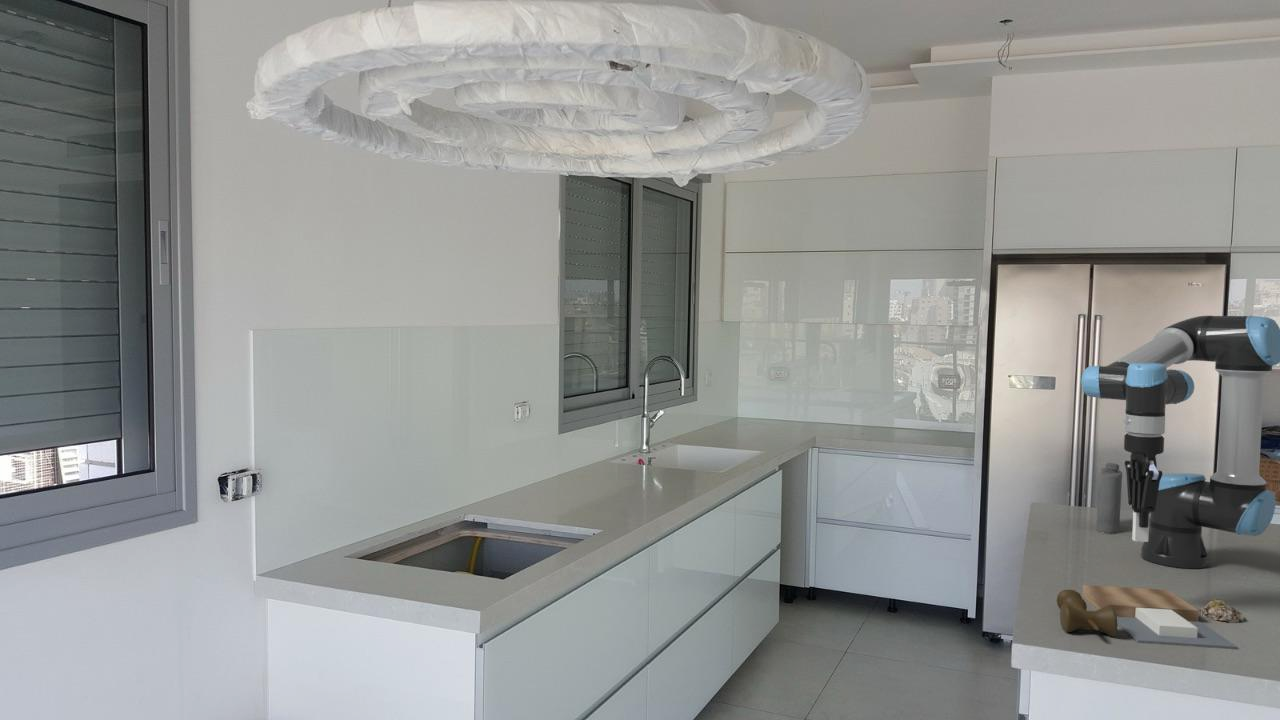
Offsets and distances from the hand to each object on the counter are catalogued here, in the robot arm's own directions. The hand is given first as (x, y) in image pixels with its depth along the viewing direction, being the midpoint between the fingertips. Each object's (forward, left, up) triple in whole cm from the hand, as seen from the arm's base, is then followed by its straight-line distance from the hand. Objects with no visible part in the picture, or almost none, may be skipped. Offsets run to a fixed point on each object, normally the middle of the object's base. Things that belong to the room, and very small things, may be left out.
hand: (1140, 540), depth 193 cm
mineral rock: (-16, +3, -15) cm, 22 cm away
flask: (-23, -77, -15) cm, 82 cm away
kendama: (+17, +17, -15) cm, 28 cm away
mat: (+1, +17, -15) cm, 22 cm away
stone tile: (+1, +15, -14) cm, 20 cm away
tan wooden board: (+1, +2, -15) cm, 15 cm away
